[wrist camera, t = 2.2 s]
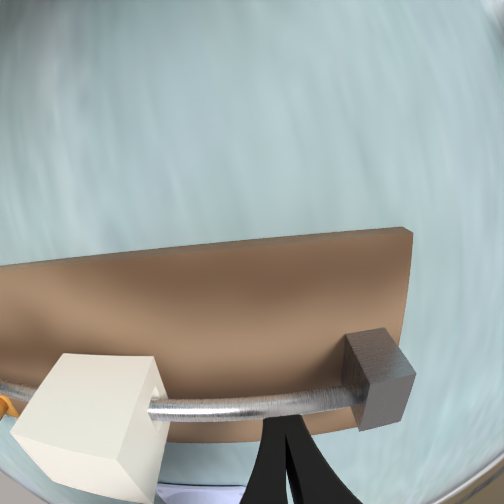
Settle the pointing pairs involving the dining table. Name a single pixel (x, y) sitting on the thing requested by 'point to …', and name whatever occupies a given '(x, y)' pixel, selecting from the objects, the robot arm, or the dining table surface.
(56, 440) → the sleeve
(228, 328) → the walnut board
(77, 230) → the dining table surface
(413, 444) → the dining table surface
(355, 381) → the metal rod
